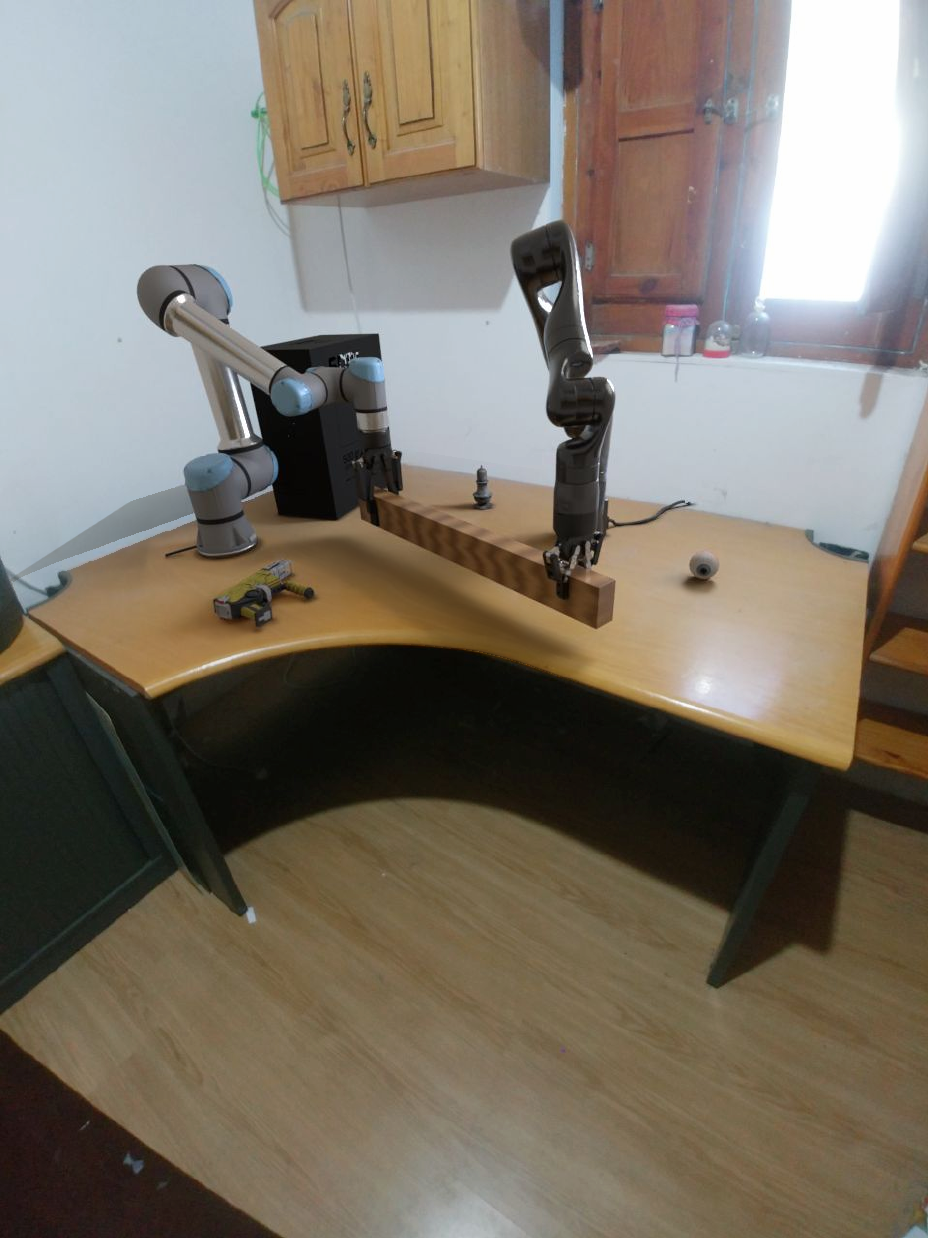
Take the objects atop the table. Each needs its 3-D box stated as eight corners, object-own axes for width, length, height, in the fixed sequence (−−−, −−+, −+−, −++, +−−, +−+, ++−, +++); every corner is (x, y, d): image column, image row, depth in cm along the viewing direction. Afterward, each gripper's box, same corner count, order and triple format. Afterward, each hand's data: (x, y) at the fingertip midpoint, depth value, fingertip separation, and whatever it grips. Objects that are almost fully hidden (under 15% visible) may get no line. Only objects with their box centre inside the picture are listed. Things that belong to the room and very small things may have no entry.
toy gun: (334, 567, 137) (277, 555, 141) (271, 613, 117) (207, 598, 121) (335, 586, 139) (279, 574, 143) (273, 634, 119) (211, 619, 123)
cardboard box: (342, 476, 210) (320, 334, 187) (395, 480, 203) (378, 333, 180) (278, 514, 179) (242, 350, 157) (337, 519, 173) (309, 349, 150)
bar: (612, 620, 108) (616, 579, 104) (596, 629, 105) (599, 588, 101) (375, 514, 161) (371, 484, 156) (361, 519, 158) (356, 488, 154)
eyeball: (686, 582, 128) (690, 556, 125) (688, 570, 133) (692, 545, 130) (716, 586, 126) (721, 559, 123) (717, 573, 131) (722, 547, 128)
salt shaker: (491, 509, 174) (490, 468, 168) (471, 508, 175) (469, 468, 169) (494, 502, 179) (493, 462, 173) (475, 502, 180) (473, 462, 174)
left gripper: (395, 420, 149) (403, 509, 161) (332, 433, 140) (346, 527, 152) (413, 424, 144) (420, 516, 156) (349, 438, 135) (362, 535, 147)
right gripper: (586, 488, 108) (581, 574, 116) (529, 510, 100) (529, 600, 109) (620, 498, 103) (613, 587, 111) (564, 521, 95) (561, 614, 104)
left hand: (383, 522), depth 154 cm, fingers closed on bar, 5 cm apart
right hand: (572, 593), depth 110 cm, fingers closed on bar, 4 cm apart
